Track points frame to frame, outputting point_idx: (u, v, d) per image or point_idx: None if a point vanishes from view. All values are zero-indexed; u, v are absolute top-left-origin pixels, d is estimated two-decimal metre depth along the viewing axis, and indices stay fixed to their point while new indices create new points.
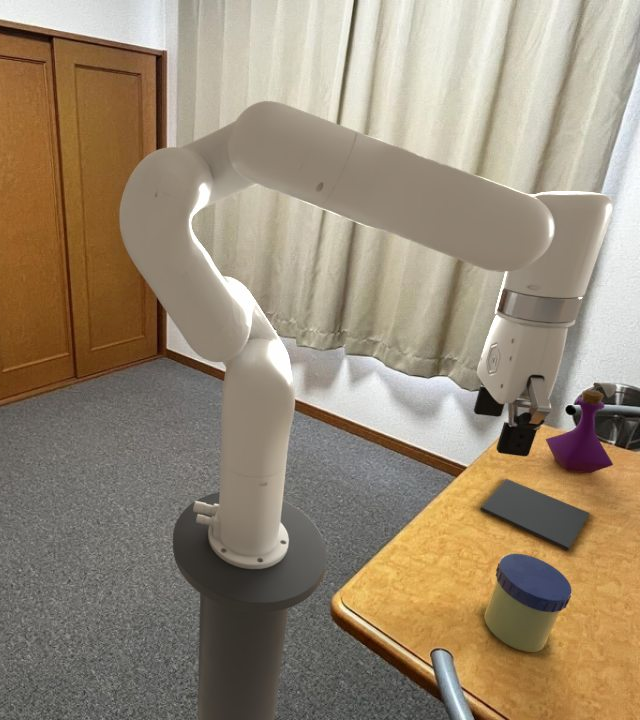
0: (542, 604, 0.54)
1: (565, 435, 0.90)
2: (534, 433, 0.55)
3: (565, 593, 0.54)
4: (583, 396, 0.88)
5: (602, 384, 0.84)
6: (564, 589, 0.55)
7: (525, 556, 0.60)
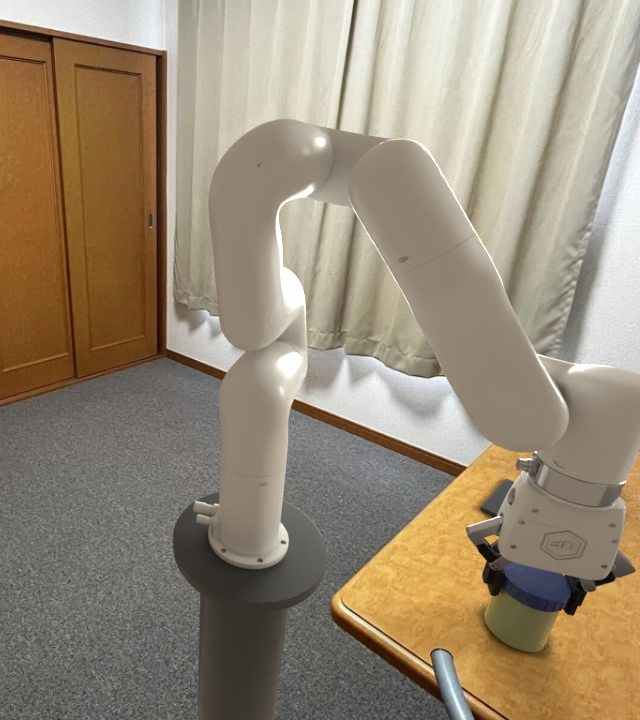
0: (542, 604, 0.54)
1: None
2: None
3: (565, 593, 0.54)
4: None
5: None
6: (564, 589, 0.55)
7: None
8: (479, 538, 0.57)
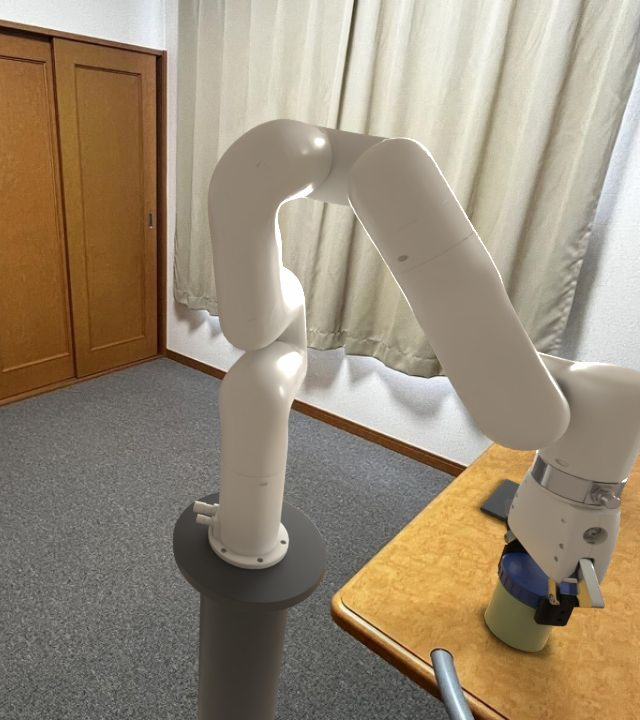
0: None
1: None
2: (504, 548, 0.61)
3: None
4: None
5: None
6: None
7: (509, 572, 0.57)
8: None
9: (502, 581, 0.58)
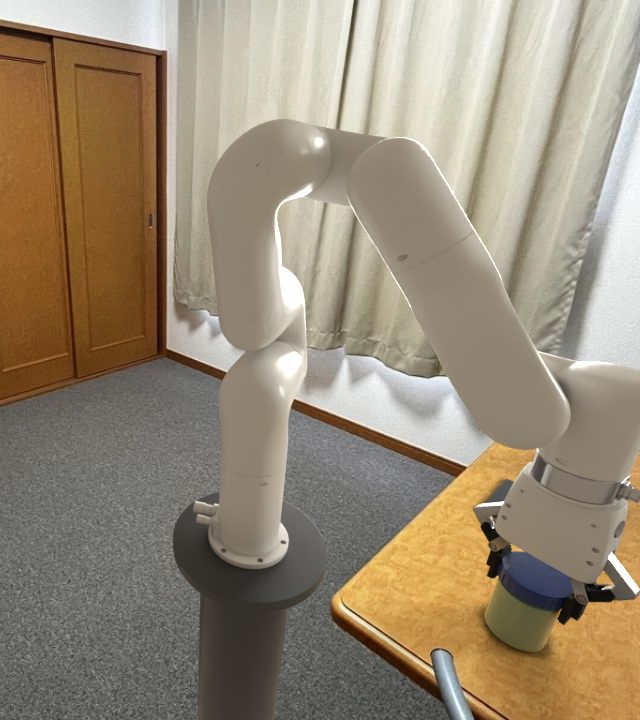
0: None
1: None
2: (493, 557, 0.59)
3: (521, 553, 0.59)
4: None
5: None
6: (517, 555, 0.59)
7: (525, 584, 0.55)
8: None
9: (519, 596, 0.56)
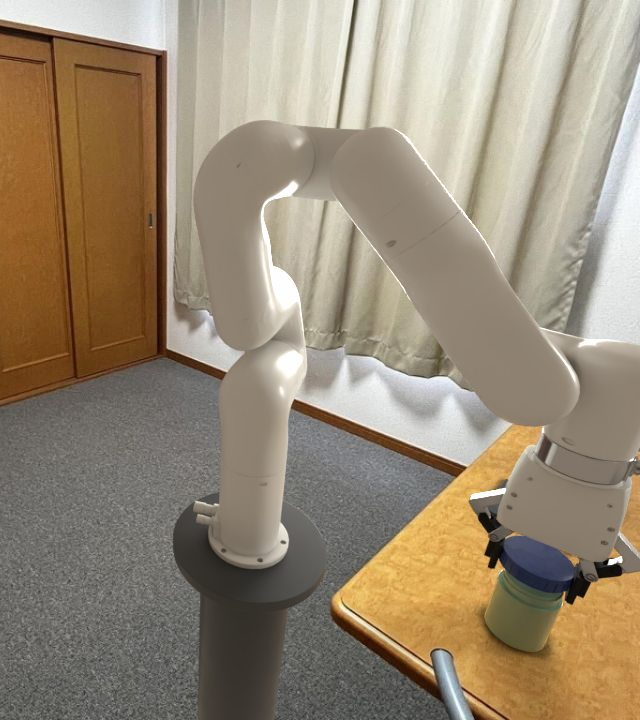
0: None
1: None
2: (494, 547, 0.57)
3: (515, 538, 0.59)
4: None
5: None
6: (513, 540, 0.58)
7: (536, 573, 0.54)
8: None
9: (531, 585, 0.54)
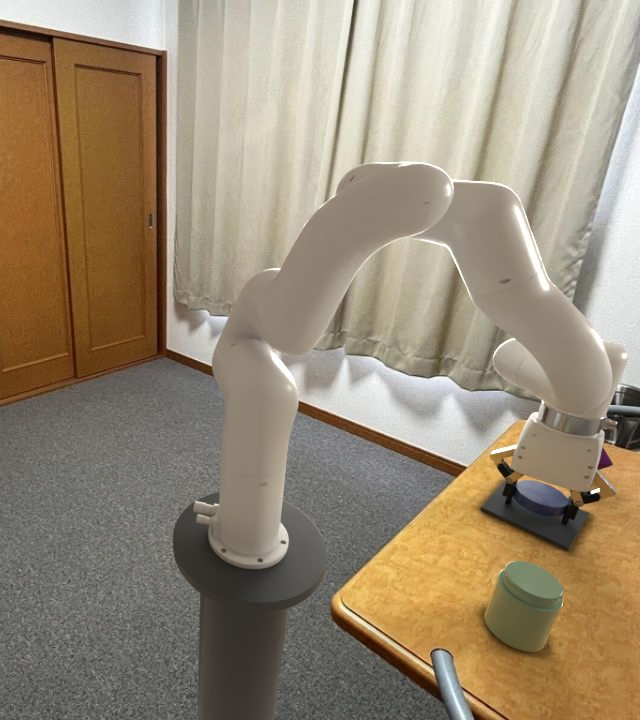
0: None
1: None
2: (509, 488, 0.80)
3: (524, 481, 0.81)
4: None
5: None
6: (523, 483, 0.80)
7: (540, 502, 0.76)
8: None
9: (537, 511, 0.76)
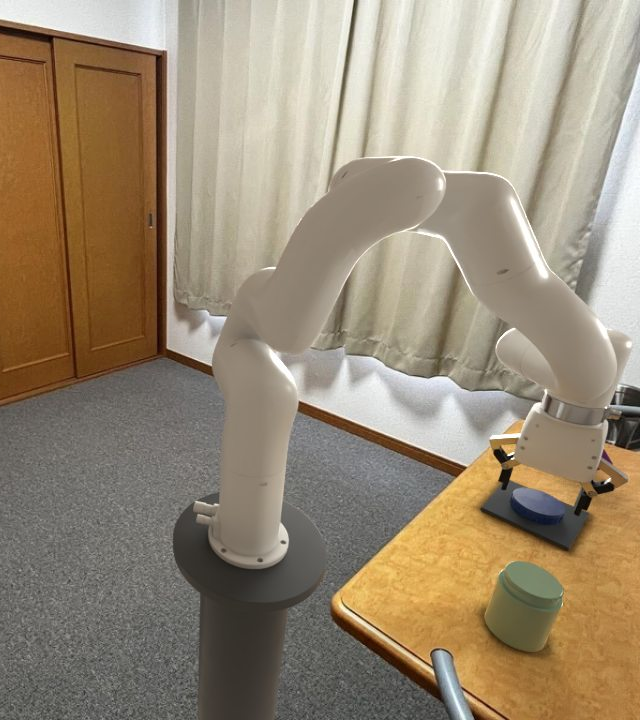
0: None
1: None
2: (505, 473, 0.79)
3: (521, 489, 0.81)
4: None
5: None
6: (520, 491, 0.81)
7: (537, 511, 0.76)
8: None
9: (534, 520, 0.77)
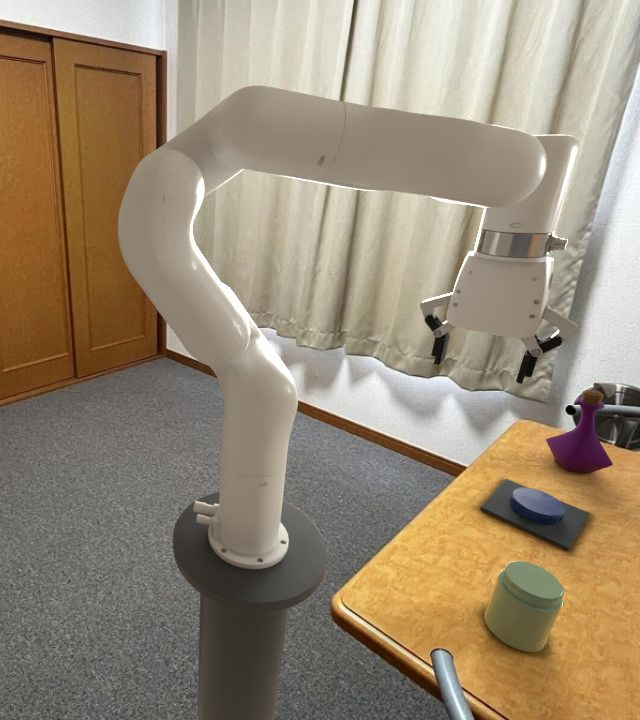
0: None
1: (565, 435, 0.90)
2: (438, 343, 0.66)
3: (521, 489, 0.81)
4: (583, 396, 0.88)
5: (602, 384, 0.84)
6: (520, 491, 0.81)
7: (537, 511, 0.76)
8: None
9: (534, 520, 0.77)
